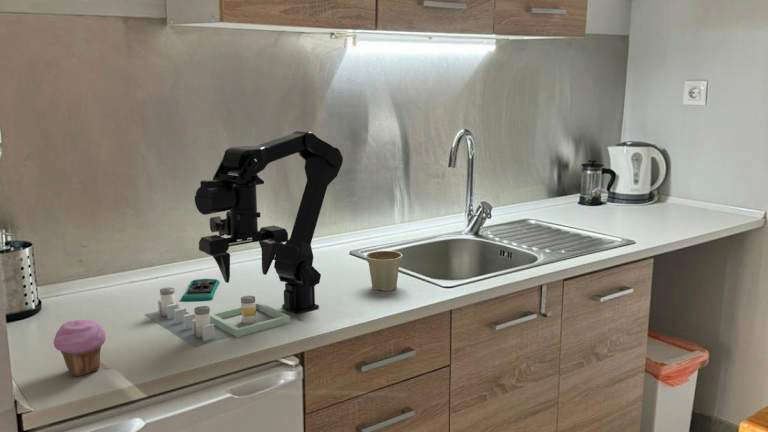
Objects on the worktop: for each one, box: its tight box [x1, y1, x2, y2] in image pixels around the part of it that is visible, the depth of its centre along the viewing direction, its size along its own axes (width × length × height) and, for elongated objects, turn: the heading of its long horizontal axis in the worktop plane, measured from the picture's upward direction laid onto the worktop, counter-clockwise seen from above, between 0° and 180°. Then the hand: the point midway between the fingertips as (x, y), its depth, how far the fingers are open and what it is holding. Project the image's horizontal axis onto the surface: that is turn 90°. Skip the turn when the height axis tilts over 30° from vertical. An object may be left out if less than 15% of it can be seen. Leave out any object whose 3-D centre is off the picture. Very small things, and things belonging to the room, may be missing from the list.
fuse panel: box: [144, 299, 231, 347], centre depth 157 cm, size 8×25×4 cm, turn 40°
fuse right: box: [193, 305, 211, 339], centre depth 150 cm, size 3×3×6 cm
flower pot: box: [365, 250, 403, 292], centre depth 185 cm, size 9×9×9 cm
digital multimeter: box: [181, 278, 221, 302], centre depth 180 cm, size 7×15×3 cm, turn 5°
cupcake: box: [53, 318, 107, 377], centre depth 136 cm, size 9×9×10 cm
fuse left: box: [159, 286, 176, 317], centre depth 162 cm, size 3×3×6 cm
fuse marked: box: [240, 295, 257, 325], centre depth 158 cm, size 3×3×6 cm
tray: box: [210, 301, 291, 338], centre depth 159 cm, size 13×13×3 cm
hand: (246, 278), depth 157 cm, fingers open, 9 cm apart
